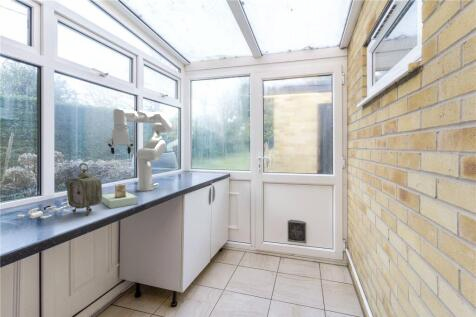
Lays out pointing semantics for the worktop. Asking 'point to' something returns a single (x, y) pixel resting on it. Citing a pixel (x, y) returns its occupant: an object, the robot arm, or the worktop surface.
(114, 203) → the board
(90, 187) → the tabletop clock
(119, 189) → the oak post
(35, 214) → the miniature set
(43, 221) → the worktop surface
